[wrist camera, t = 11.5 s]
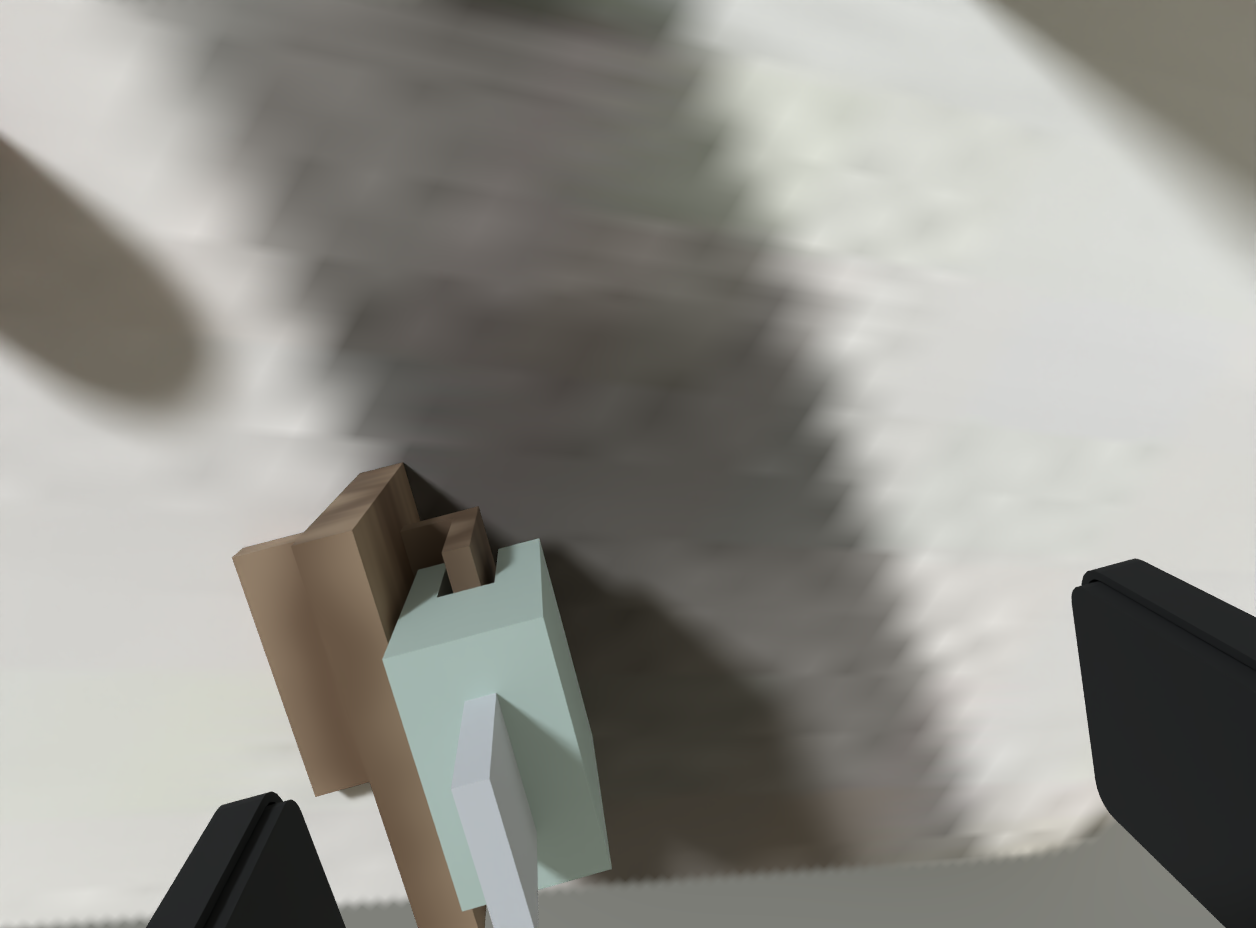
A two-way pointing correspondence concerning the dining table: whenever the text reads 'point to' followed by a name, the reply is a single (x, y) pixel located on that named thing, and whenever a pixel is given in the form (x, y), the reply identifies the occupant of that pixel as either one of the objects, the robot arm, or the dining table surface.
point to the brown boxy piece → (363, 656)
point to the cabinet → (499, 734)
